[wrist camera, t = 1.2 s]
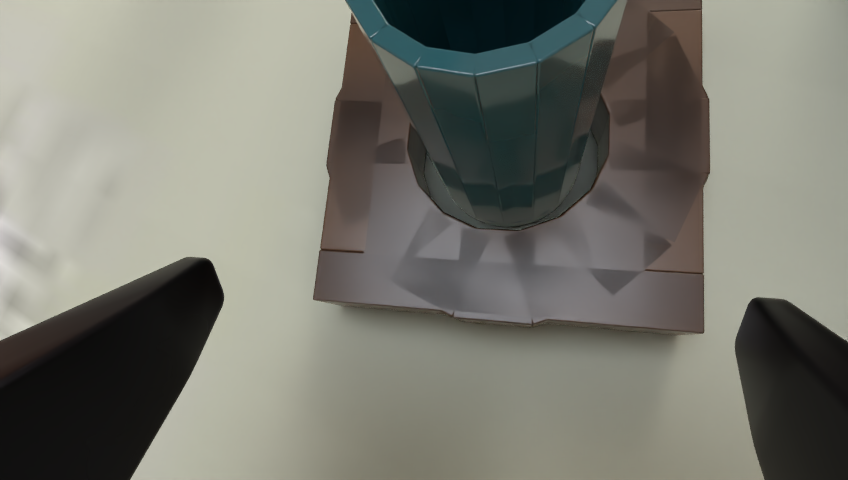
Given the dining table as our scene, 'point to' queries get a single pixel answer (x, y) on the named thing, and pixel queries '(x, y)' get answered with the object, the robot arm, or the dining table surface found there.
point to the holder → (548, 241)
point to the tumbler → (497, 92)
